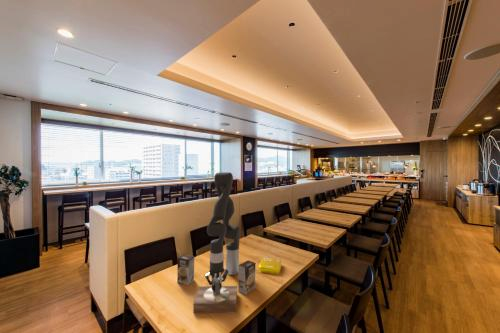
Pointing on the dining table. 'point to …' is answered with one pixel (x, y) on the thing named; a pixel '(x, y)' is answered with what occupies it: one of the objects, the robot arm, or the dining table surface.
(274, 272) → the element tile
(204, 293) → the tuner box
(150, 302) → the dining table surface
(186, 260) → the coffee box
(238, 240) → the robot arm
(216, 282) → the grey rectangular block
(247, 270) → the coffee box
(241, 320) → the dining table surface
